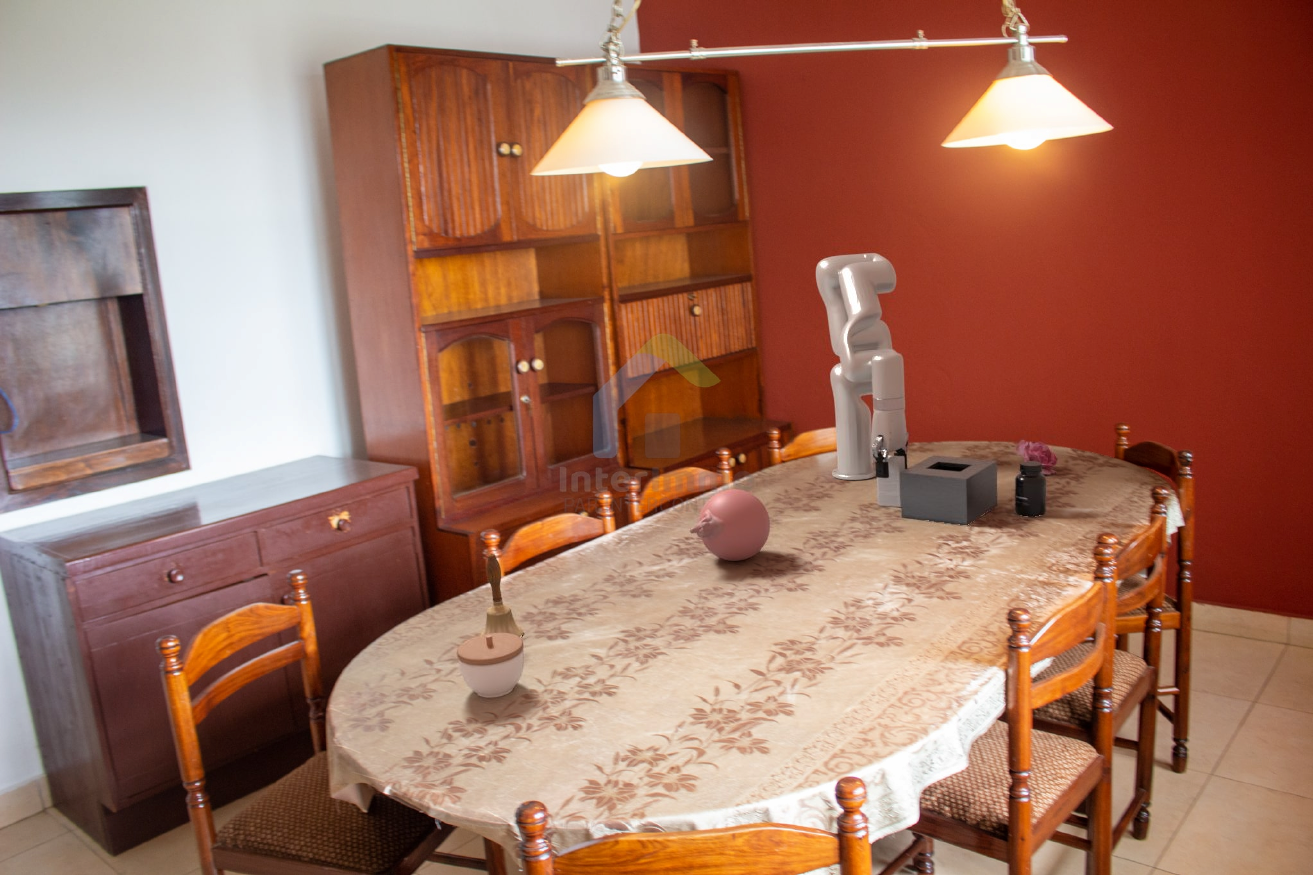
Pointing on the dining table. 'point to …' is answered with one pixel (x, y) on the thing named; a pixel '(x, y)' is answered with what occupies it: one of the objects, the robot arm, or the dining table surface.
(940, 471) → the slot box
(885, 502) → the skincare box
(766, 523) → the pink party balloon
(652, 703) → the dining table surface
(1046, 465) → the flower
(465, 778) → the dining table surface
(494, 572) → the hand bell
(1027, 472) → the supplement bottle
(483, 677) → the lidded jar
